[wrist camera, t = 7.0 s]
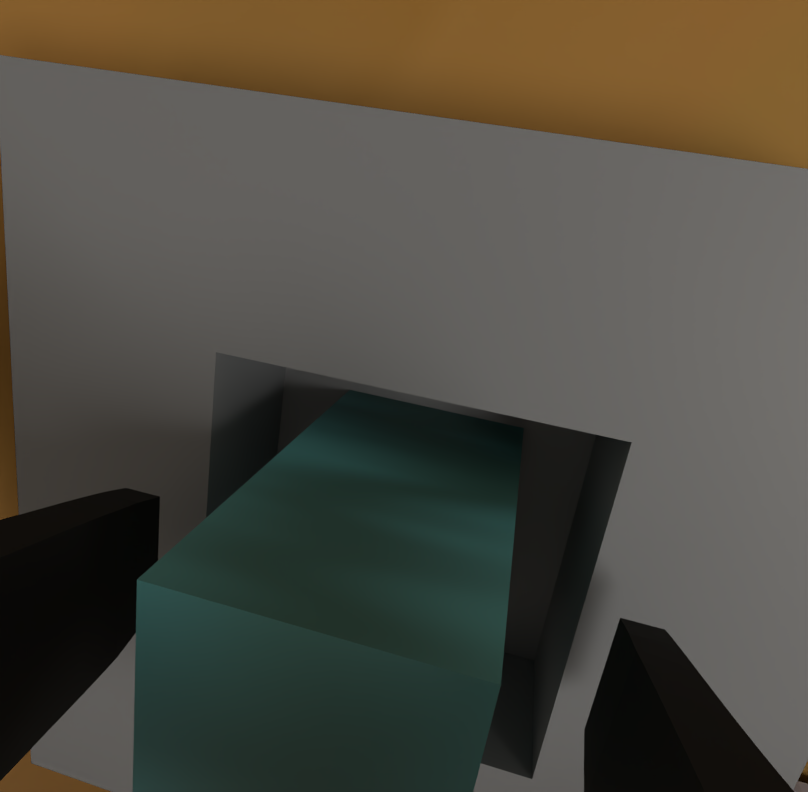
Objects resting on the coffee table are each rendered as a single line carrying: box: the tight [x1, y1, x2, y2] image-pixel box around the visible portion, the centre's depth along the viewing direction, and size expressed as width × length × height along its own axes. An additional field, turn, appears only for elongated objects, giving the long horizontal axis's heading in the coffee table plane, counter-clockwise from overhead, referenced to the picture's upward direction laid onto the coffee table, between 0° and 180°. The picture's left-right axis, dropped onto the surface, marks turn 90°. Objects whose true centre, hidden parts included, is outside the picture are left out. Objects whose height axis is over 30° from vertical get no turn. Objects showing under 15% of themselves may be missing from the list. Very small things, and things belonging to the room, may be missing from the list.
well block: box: [0, 55, 808, 792], centre depth 12 cm, size 14×14×4 cm
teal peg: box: [133, 390, 524, 792], centre depth 9 cm, size 4×4×7 cm
